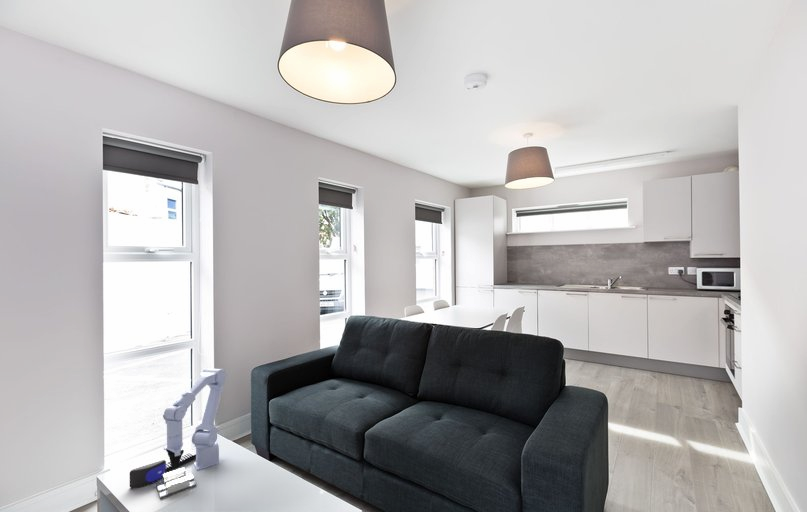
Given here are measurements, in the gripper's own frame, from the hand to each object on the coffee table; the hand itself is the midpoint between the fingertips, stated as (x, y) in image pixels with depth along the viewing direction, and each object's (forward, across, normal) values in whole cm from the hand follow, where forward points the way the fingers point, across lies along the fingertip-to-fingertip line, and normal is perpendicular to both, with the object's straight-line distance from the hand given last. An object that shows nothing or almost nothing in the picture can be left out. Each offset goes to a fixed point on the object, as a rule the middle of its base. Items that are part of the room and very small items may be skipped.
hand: (174, 466), depth 159 cm
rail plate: (+9, 0, 0) cm, 9 cm away
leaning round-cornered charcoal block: (+9, -11, -8) cm, 16 cm away
